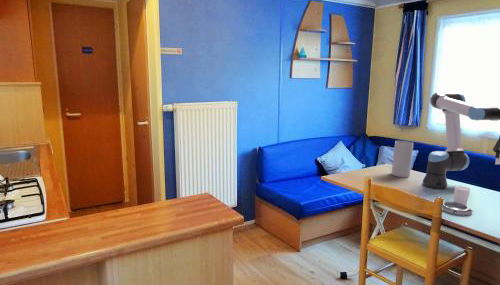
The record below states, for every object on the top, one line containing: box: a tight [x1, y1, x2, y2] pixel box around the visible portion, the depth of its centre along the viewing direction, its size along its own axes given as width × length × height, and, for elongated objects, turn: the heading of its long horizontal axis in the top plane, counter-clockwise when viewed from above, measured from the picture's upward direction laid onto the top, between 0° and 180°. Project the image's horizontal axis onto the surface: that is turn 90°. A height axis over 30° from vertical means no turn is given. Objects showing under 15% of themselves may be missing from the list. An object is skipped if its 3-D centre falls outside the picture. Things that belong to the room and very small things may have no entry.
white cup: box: [453, 185, 471, 206], centre depth 210 cm, size 8×8×10 cm
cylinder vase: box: [391, 140, 414, 178], centre depth 265 cm, size 12×12×25 cm
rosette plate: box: [442, 200, 474, 217], centre depth 201 cm, size 16×16×3 cm
